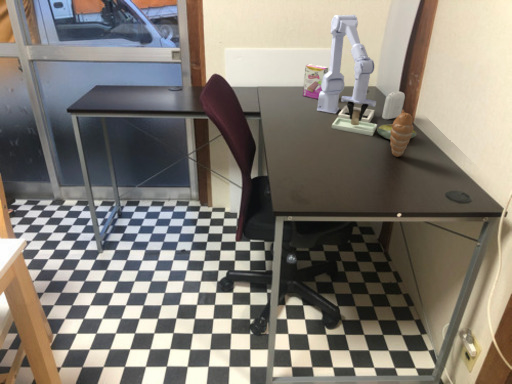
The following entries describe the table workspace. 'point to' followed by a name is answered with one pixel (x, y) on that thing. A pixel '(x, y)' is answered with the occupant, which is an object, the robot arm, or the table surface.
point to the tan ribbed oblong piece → (401, 133)
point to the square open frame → (366, 113)
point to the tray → (354, 126)
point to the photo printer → (393, 105)
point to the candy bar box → (313, 80)
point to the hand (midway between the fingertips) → (355, 119)
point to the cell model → (389, 131)
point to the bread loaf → (355, 117)
